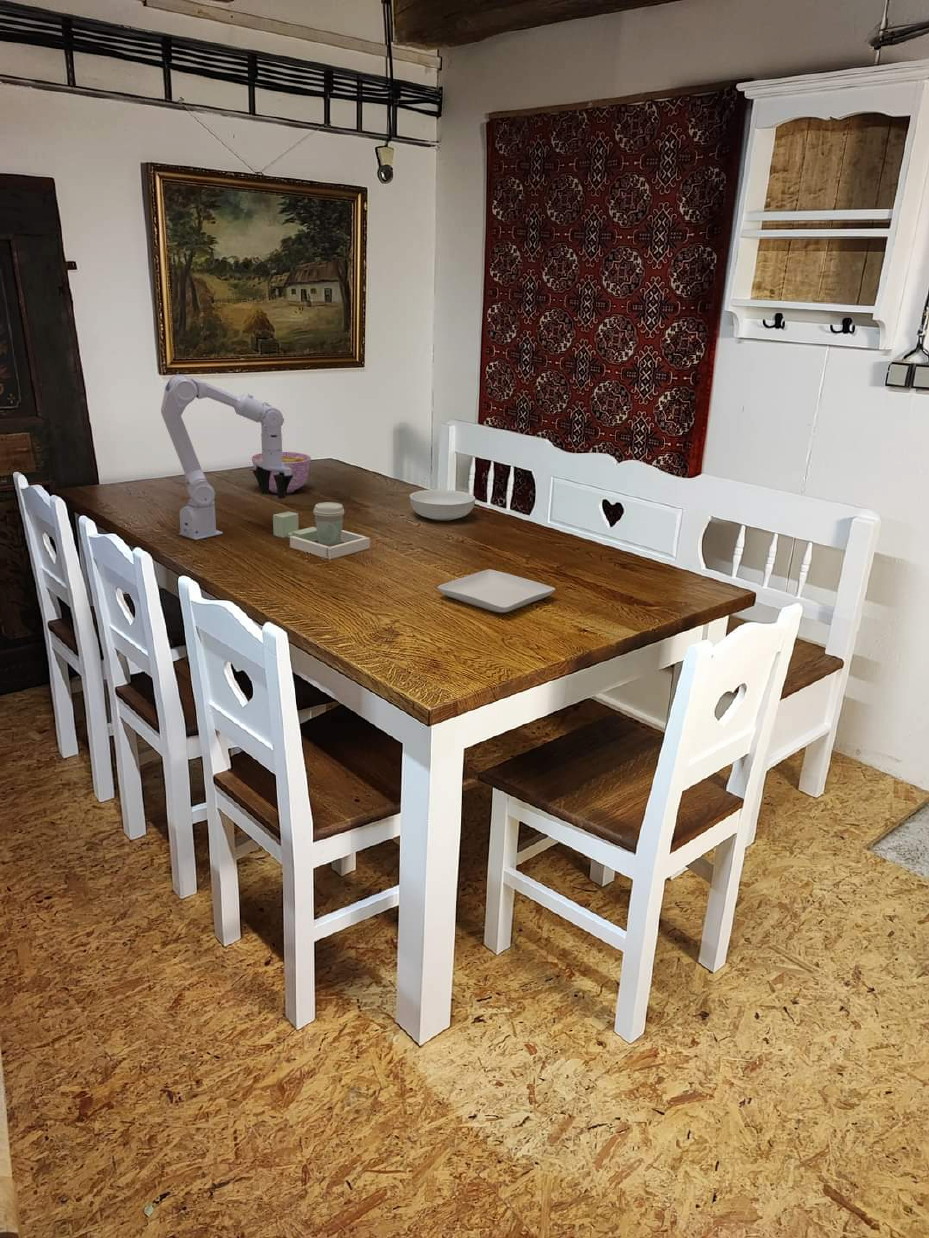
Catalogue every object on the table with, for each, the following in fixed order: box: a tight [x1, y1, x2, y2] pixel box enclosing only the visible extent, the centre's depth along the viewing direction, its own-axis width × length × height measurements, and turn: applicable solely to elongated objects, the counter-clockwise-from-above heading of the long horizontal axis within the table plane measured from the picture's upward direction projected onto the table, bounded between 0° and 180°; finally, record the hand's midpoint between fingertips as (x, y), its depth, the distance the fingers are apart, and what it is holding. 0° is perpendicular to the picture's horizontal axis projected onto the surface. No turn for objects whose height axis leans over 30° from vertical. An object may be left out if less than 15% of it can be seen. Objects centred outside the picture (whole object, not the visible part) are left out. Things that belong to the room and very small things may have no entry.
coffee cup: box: [312, 501, 345, 547], centre depth 251 cm, size 8×8×12 cm
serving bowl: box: [409, 489, 476, 522], centre depth 288 cm, size 21×21×7 cm
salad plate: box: [437, 569, 556, 614], centre depth 219 cm, size 21×21×3 cm
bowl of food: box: [251, 451, 312, 494], centre depth 311 cm, size 20×20×12 cm
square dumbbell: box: [272, 510, 318, 542], centre depth 260 cm, size 8×13×6 cm, turn 52°
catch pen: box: [289, 529, 371, 560], centre depth 252 cm, size 15×16×3 cm
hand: (273, 495), depth 265 cm, fingers open, 7 cm apart
